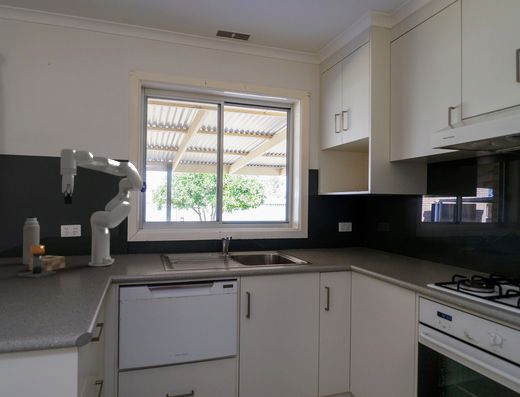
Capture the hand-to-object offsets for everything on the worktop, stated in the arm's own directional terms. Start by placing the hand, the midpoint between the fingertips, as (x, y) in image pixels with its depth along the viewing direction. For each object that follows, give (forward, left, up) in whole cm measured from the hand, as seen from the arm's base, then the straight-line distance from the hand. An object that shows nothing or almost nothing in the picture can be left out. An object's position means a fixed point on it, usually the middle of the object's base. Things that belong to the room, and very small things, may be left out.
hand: (68, 203), depth 184 cm
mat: (+7, +12, -36) cm, 39 cm away
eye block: (+14, -1, -36) cm, 39 cm away
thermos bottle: (+35, -10, -36) cm, 52 cm away
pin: (+7, +12, -36) cm, 38 cm away
